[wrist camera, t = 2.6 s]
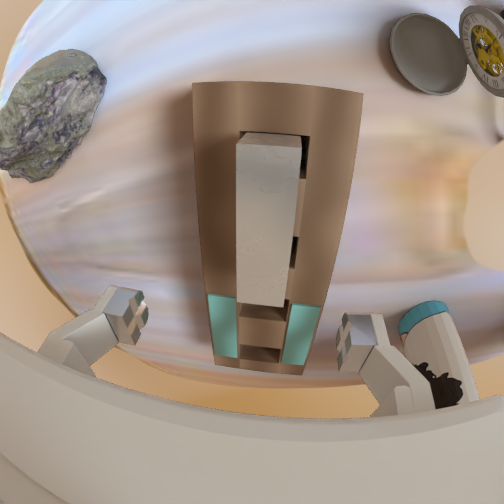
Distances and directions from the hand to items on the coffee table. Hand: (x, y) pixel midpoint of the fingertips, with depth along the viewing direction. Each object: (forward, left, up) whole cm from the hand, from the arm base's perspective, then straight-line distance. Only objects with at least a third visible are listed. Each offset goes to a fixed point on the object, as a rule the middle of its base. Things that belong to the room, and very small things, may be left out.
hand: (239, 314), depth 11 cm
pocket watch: (-12, -13, -14) cm, 23 cm away
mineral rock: (+20, -7, -14) cm, 25 cm away
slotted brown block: (0, +6, -13) cm, 15 cm away
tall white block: (0, 0, -13) cm, 13 cm away
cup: (-19, +14, -14) cm, 27 cm away
